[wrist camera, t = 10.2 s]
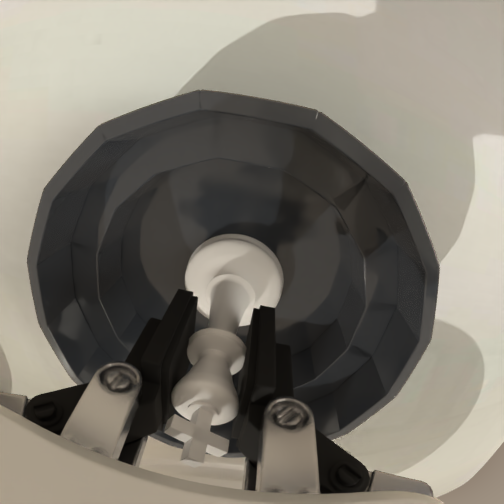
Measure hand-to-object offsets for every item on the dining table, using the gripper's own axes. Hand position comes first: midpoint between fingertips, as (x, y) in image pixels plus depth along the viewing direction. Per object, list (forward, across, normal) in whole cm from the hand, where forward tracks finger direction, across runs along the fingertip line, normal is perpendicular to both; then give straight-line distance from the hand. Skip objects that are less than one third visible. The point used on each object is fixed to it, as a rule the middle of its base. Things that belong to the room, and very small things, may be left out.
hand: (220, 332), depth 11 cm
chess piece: (+5, 0, 0) cm, 5 cm away
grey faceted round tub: (+5, 0, 0) cm, 5 cm away
